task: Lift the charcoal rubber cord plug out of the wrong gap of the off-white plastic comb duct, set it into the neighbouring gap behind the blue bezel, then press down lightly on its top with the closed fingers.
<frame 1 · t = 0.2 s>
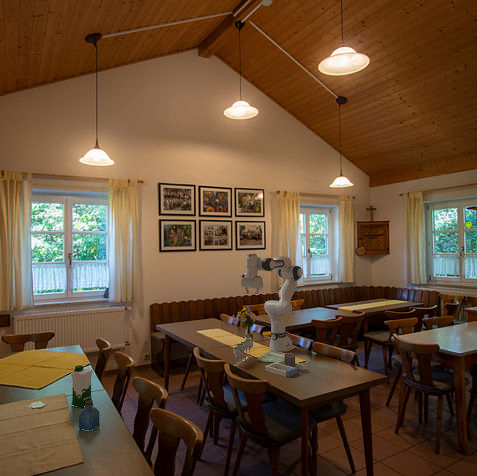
hand: (252, 293, 282), 48 cm above the table, tool pointing down, fingers open, 8 cm apart
goblet set: (243, 360, 274), on the table
perfume bottle: (89, 428, 173), on the table
milk carton: (82, 405, 198), on the table
dish towel: (273, 360, 276), on the table
cord plug: (290, 368, 254), resting in cable duct
cable duct: (285, 370, 251), on the table
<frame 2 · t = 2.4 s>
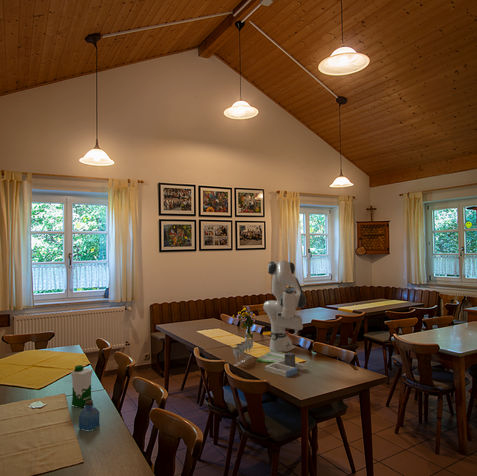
hand: (289, 334, 255), 23 cm above the table, tool pointing down, fingers open, 8 cm apart
nothing on the table moved.
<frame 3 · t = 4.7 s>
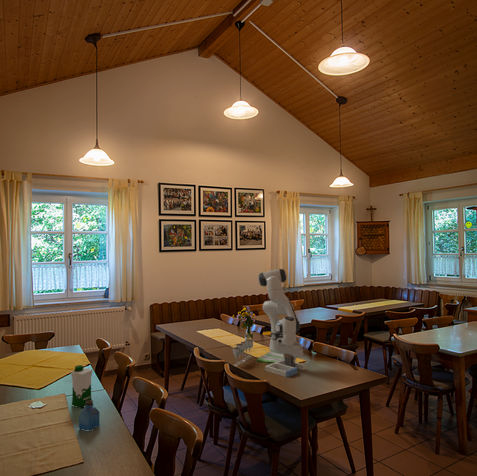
hand: (289, 361, 254), 5 cm above the table, tool pointing down, fingers closed on cord plug, 5 cm apart
cord plug: (290, 368, 254), resting in cable duct, touching gripper
everything else where it was.
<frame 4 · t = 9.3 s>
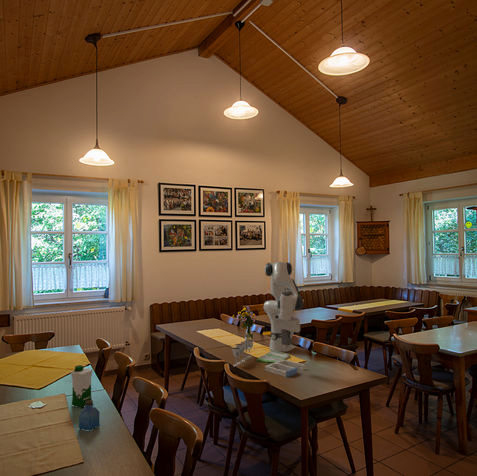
hand: (286, 337, 252), 22 cm above the table, tool pointing down, fingers closed on cord plug, 5 cm apart
cord plug: (286, 344, 252), point 17 cm above the table, touching gripper
everything else where it was.
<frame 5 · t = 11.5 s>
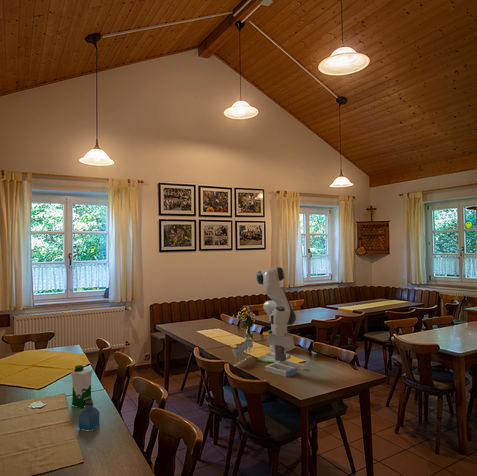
hand: (280, 353, 248), 12 cm above the table, tool pointing down, fingers closed on cord plug, 5 cm apart
cord plug: (280, 360, 248), point 8 cm above the table, touching gripper
everything else where it was.
when the fingers open (6 cm above the table, at t = 13.5 s): cord plug drops 1 cm, resting in cable duct.
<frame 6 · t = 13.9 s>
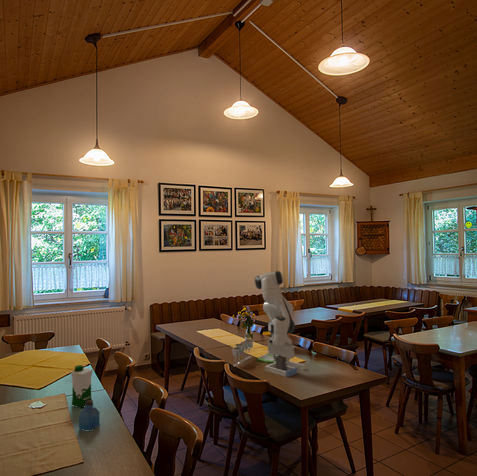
hand: (281, 362, 248), 6 cm above the table, tool pointing down, fingers open, 8 cm apart
cord plug: (281, 371, 248), resting in cable duct
everything else where it was.
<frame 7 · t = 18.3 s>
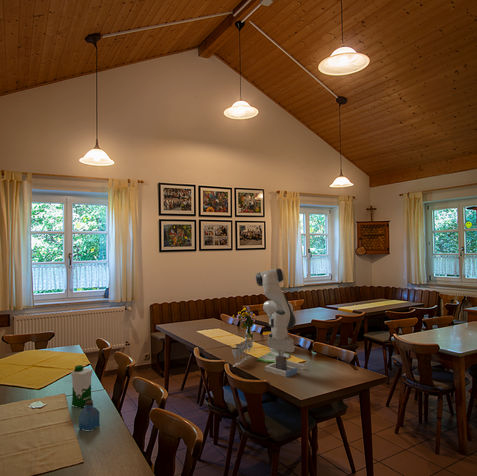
hand: (281, 356, 248), 10 cm above the table, tool pointing down, fingers closed, pressing on cord plug
cord plug: (281, 371, 248), resting in cable duct, touching gripper
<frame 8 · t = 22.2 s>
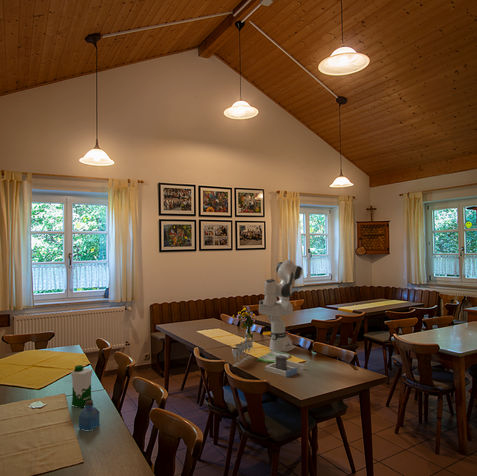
hand: (270, 321, 269), 29 cm above the table, tool pointing down, fingers closed
cord plug: (281, 371, 248), resting in cable duct
at the end: cord plug inside the target area on the cable duct (0.1 cm from its centre), point 0.0 cm above the cable duct's base; cord plug tilted 0°; the gripper is holding nothing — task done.
